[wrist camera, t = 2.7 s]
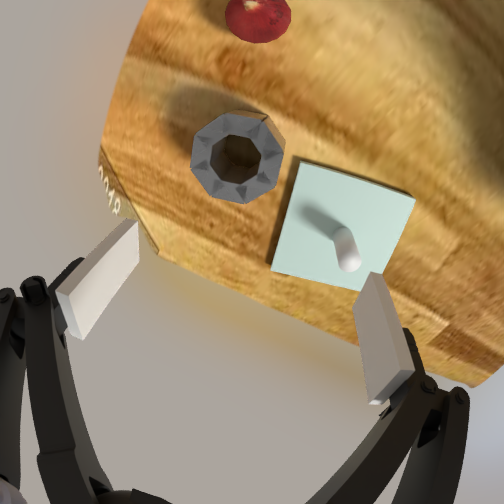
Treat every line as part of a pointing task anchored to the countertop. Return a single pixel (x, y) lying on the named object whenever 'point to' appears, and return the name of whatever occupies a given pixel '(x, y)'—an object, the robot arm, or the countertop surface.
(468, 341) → the countertop surface
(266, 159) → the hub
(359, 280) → the post block
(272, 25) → the onion
